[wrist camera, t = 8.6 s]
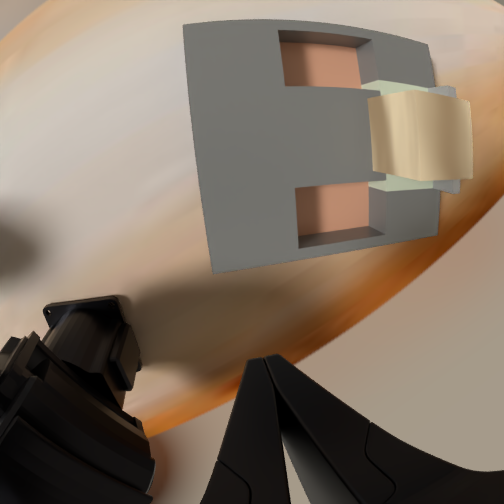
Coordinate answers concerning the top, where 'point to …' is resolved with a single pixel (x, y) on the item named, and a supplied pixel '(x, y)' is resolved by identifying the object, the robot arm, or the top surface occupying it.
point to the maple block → (421, 136)
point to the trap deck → (301, 139)
